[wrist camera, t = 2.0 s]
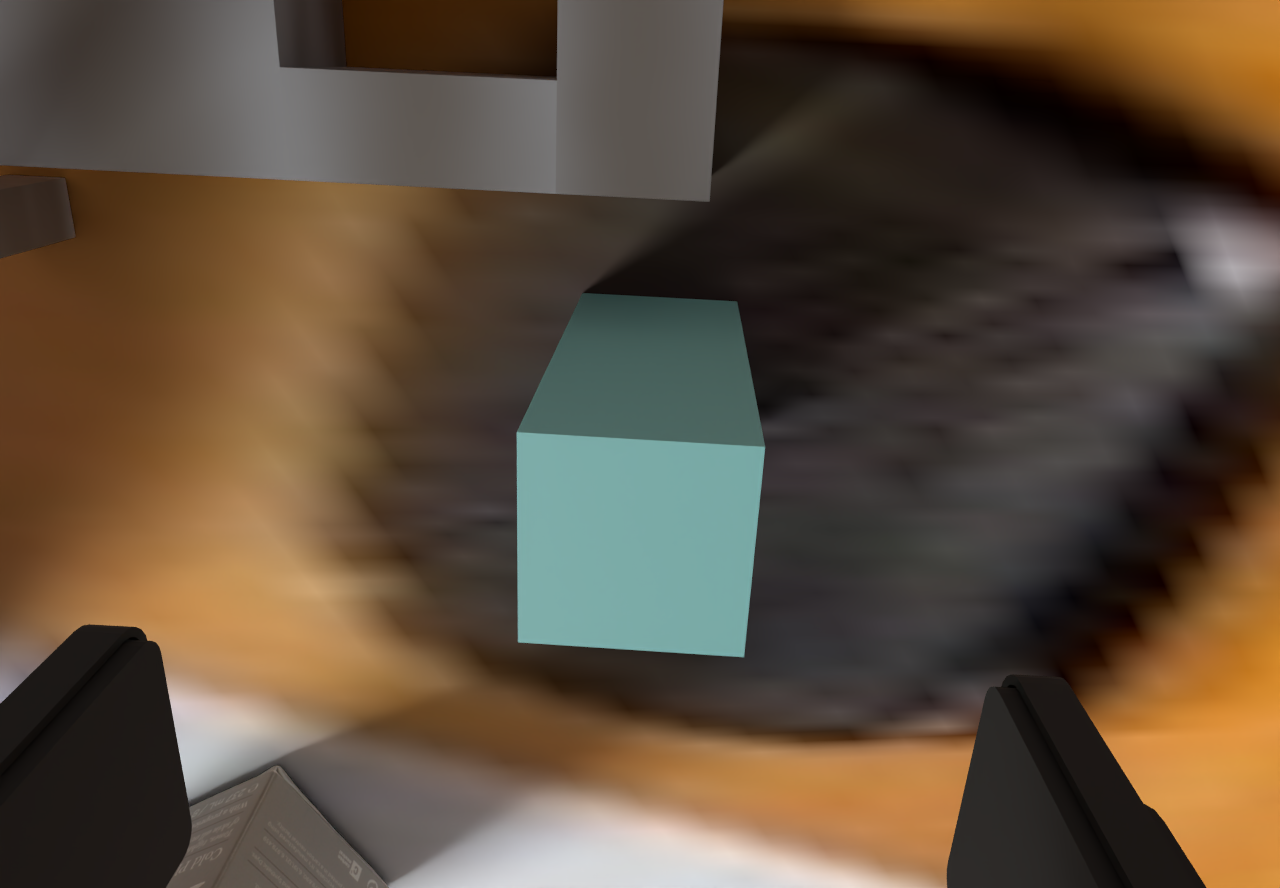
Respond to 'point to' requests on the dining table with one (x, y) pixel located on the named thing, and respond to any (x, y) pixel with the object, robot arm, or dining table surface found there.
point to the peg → (641, 481)
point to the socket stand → (345, 103)
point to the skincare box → (268, 842)
